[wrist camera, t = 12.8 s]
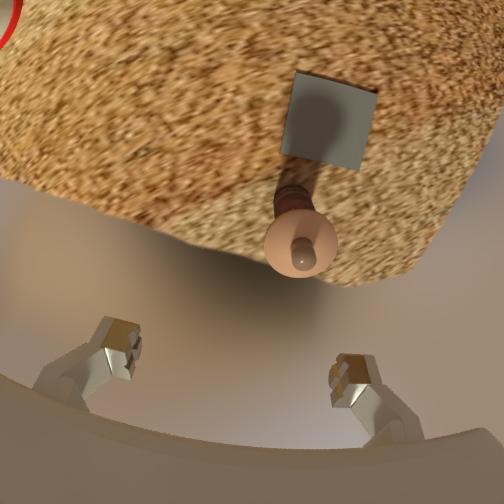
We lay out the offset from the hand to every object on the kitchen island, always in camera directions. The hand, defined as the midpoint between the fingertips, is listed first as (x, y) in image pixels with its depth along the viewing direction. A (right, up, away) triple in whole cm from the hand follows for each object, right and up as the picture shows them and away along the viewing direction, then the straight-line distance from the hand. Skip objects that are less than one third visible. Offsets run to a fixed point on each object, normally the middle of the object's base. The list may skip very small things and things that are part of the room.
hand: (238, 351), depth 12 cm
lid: (+7, +5, +26) cm, 27 cm away
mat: (+12, +24, +31) cm, 41 cm away
